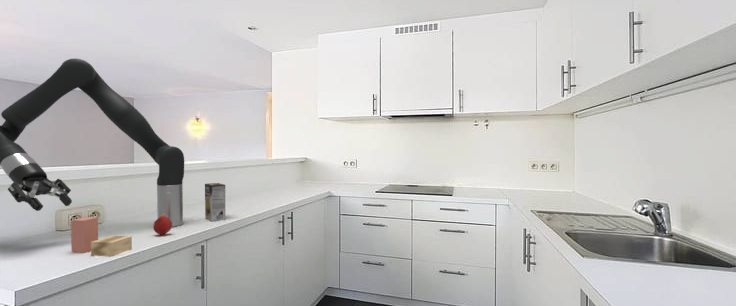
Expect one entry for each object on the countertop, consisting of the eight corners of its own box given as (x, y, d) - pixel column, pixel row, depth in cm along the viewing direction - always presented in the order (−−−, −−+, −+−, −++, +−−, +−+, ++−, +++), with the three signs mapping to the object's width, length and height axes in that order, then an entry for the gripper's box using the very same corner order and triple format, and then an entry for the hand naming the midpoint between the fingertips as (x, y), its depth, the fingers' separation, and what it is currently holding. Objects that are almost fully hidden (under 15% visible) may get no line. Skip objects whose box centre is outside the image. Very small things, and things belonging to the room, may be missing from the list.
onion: (163, 238, 118) (162, 216, 118) (149, 237, 119) (149, 215, 119) (175, 234, 124) (175, 212, 124) (162, 233, 125) (162, 212, 125)
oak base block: (91, 255, 98) (90, 241, 98) (112, 248, 105) (111, 235, 105) (111, 256, 97) (111, 242, 97) (131, 248, 104) (131, 236, 104)
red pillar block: (71, 252, 101) (71, 220, 101) (85, 248, 106) (85, 217, 105) (84, 253, 100) (83, 220, 100) (98, 248, 105) (97, 217, 105)
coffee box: (204, 218, 152) (204, 183, 151) (219, 216, 156) (218, 182, 156) (211, 221, 145) (210, 185, 145) (226, 219, 149) (225, 184, 149)
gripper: (3, 163, 98) (37, 201, 97) (54, 161, 112) (84, 195, 111) (-12, 180, 99) (22, 219, 97) (41, 176, 113) (71, 210, 112)
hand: (55, 206), depth 104 cm, fingers open, 8 cm apart
